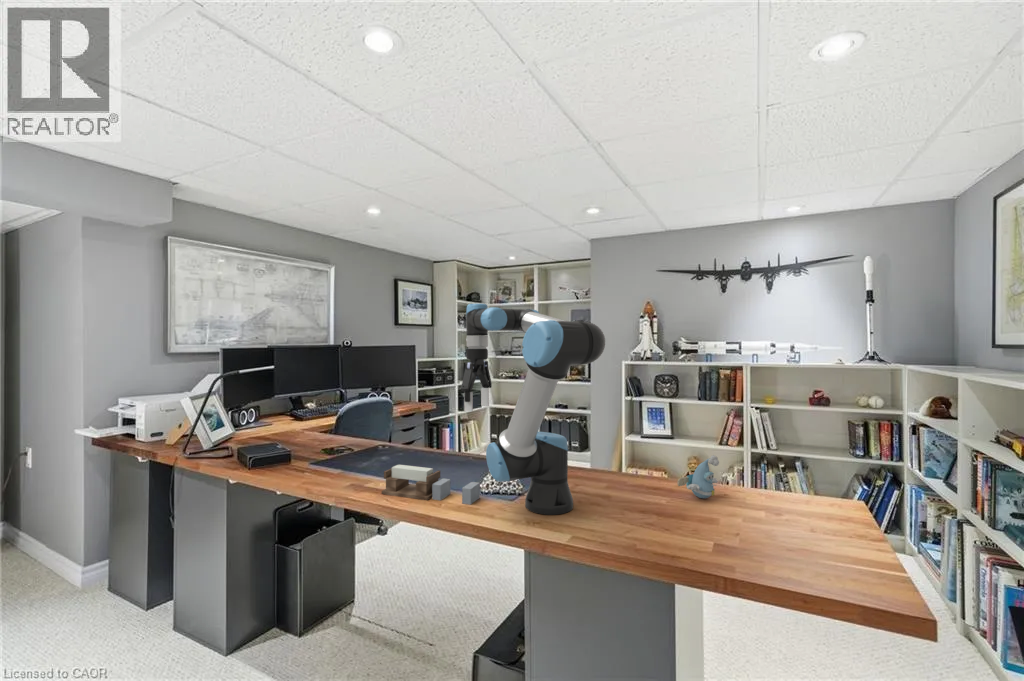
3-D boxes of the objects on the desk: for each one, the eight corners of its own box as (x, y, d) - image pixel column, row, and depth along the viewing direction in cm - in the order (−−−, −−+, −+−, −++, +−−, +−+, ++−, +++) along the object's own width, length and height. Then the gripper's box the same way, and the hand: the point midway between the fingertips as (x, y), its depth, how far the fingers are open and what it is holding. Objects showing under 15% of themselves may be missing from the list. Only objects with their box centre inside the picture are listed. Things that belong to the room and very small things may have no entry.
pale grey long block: (432, 478, 161) (432, 468, 161) (426, 481, 157) (426, 471, 157) (398, 474, 166) (398, 464, 166) (391, 477, 162) (391, 467, 162)
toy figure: (705, 508, 147) (705, 460, 147) (675, 499, 155) (675, 454, 155) (730, 496, 158) (730, 452, 158) (701, 488, 166) (701, 446, 166)
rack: (442, 491, 163) (442, 469, 163) (427, 500, 154) (427, 477, 154) (398, 485, 169) (398, 464, 169) (381, 493, 160) (381, 472, 160)
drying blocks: (479, 497, 156) (479, 482, 156) (470, 504, 150) (470, 489, 150) (442, 492, 161) (442, 478, 161) (432, 499, 155) (432, 484, 155)
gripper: (482, 347, 177) (482, 403, 177) (450, 348, 153) (450, 413, 153) (500, 347, 174) (500, 404, 174) (471, 348, 151) (471, 414, 151)
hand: (477, 408), depth 164 cm, fingers open, 13 cm apart
